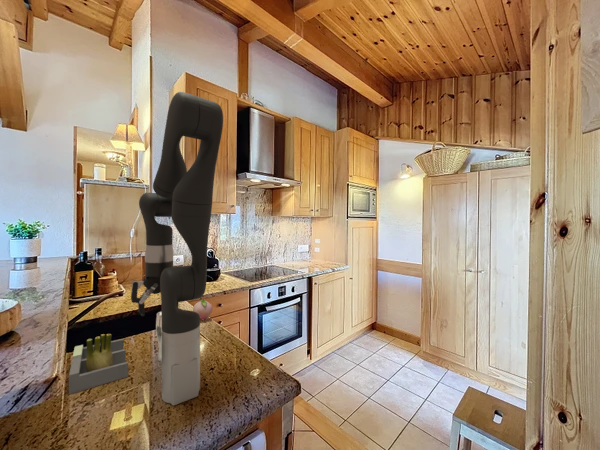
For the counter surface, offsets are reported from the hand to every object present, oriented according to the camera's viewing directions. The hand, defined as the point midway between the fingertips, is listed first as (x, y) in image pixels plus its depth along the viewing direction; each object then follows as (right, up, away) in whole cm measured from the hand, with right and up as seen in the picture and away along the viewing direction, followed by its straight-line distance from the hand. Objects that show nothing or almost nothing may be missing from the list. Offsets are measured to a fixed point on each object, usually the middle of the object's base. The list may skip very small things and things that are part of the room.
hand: (159, 312), depth 78 cm
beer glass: (-2, -18, +8) cm, 20 cm away
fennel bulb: (-16, -18, -3) cm, 24 cm away
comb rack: (-19, -18, +1) cm, 26 cm away
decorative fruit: (-3, -19, +43) cm, 47 cm away
